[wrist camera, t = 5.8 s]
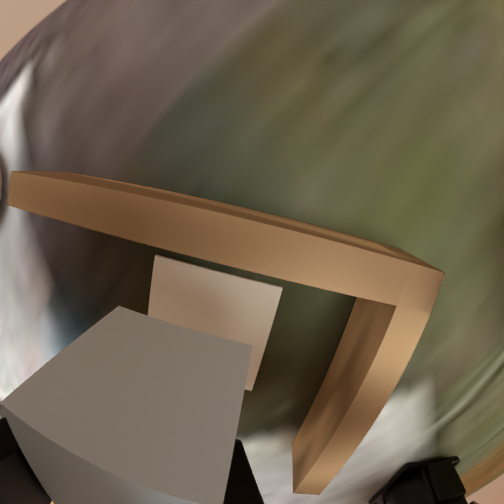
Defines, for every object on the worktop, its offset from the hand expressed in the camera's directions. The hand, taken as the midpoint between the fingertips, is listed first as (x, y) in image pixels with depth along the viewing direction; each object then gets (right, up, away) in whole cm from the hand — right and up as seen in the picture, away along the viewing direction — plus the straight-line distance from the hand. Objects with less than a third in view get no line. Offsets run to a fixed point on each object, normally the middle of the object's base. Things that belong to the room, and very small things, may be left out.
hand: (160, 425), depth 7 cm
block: (0, 0, +1) cm, 1 cm away
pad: (+1, +1, +7) cm, 7 cm away
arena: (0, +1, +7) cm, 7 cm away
